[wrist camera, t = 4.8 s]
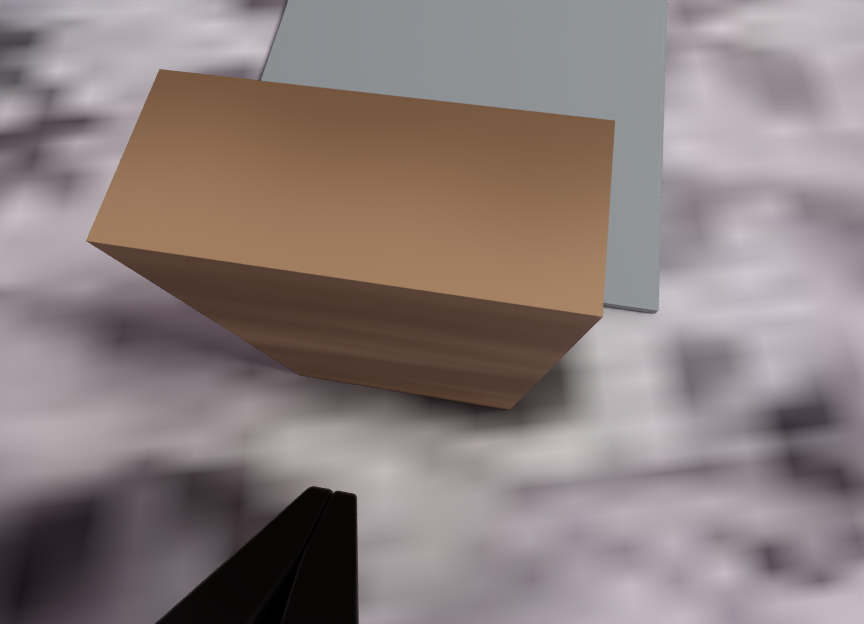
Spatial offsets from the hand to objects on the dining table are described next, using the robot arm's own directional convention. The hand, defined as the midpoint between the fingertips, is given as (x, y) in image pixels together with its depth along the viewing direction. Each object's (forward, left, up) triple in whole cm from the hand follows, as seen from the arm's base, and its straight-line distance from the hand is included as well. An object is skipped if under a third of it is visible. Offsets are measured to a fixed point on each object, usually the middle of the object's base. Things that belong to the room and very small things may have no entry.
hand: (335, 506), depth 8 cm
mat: (+11, -9, -7) cm, 16 cm away
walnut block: (+3, -3, -7) cm, 8 cm away
